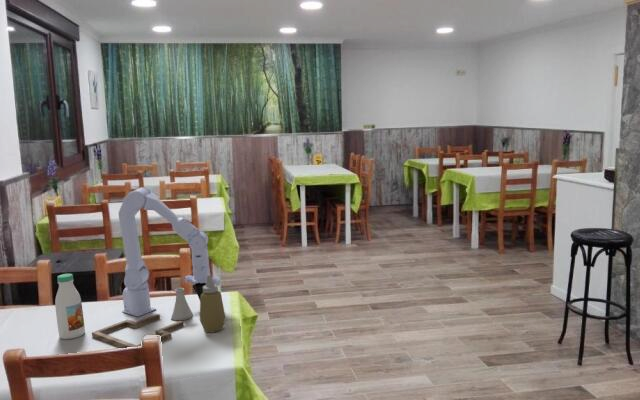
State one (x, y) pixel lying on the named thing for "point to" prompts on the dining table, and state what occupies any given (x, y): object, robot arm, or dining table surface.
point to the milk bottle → (68, 309)
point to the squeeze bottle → (211, 307)
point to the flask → (181, 306)
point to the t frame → (123, 344)
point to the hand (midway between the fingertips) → (204, 303)
